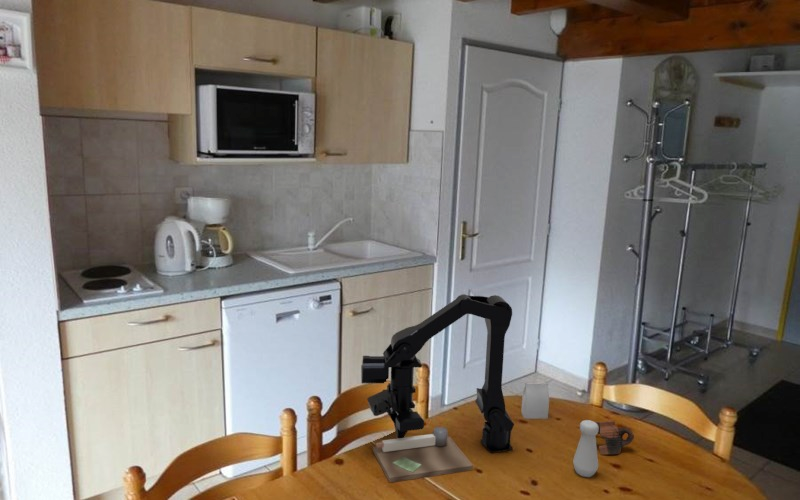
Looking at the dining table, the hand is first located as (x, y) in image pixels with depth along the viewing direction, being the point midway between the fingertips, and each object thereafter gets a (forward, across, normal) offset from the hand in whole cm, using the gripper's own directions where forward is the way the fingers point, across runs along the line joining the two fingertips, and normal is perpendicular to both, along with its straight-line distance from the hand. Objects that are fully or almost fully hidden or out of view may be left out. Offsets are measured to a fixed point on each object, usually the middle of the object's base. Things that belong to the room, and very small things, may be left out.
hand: (399, 439), depth 149 cm
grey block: (+2, -8, +44) cm, 45 cm away
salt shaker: (+2, +22, +40) cm, 46 cm away
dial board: (+2, +7, +4) cm, 8 cm away
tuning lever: (+1, +3, +2) cm, 4 cm away
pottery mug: (+3, +13, +54) cm, 55 cm away
